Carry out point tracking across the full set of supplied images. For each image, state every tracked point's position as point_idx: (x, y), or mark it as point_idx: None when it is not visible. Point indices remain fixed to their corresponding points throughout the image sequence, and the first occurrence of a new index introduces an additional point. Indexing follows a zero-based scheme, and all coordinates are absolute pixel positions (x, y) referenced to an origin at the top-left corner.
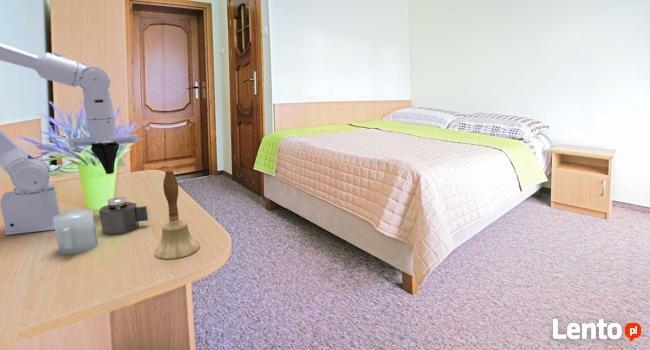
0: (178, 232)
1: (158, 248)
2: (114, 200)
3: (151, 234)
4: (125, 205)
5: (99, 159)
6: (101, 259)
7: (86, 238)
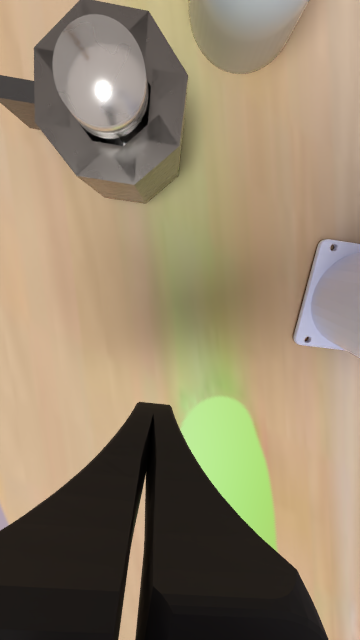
0: None
1: None
2: (108, 51)
3: (17, 10)
4: (84, 131)
5: (203, 476)
6: None
7: None
